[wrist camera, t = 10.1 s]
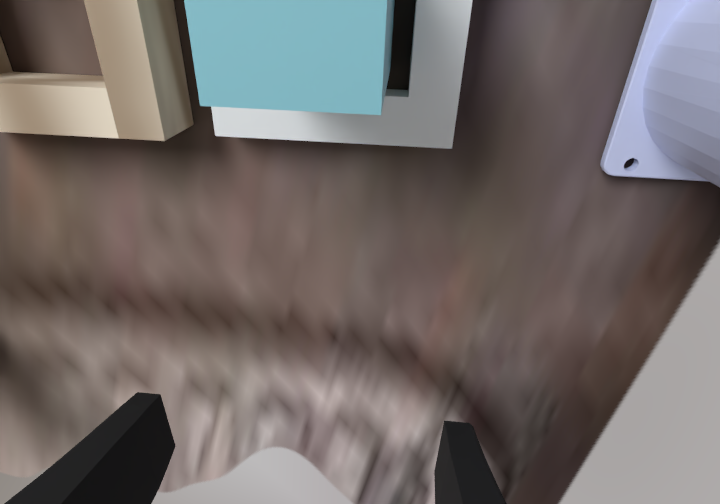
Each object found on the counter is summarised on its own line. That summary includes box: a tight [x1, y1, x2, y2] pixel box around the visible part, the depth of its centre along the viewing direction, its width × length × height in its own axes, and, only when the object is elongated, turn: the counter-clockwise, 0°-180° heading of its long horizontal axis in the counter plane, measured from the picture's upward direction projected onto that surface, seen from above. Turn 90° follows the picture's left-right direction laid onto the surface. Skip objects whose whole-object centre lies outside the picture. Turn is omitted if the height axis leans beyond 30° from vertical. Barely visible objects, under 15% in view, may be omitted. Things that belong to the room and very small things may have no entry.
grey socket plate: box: [211, 0, 473, 149], centre depth 15 cm, size 9×9×2 cm
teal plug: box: [184, 0, 395, 115], centre depth 12 cm, size 4×4×8 cm
